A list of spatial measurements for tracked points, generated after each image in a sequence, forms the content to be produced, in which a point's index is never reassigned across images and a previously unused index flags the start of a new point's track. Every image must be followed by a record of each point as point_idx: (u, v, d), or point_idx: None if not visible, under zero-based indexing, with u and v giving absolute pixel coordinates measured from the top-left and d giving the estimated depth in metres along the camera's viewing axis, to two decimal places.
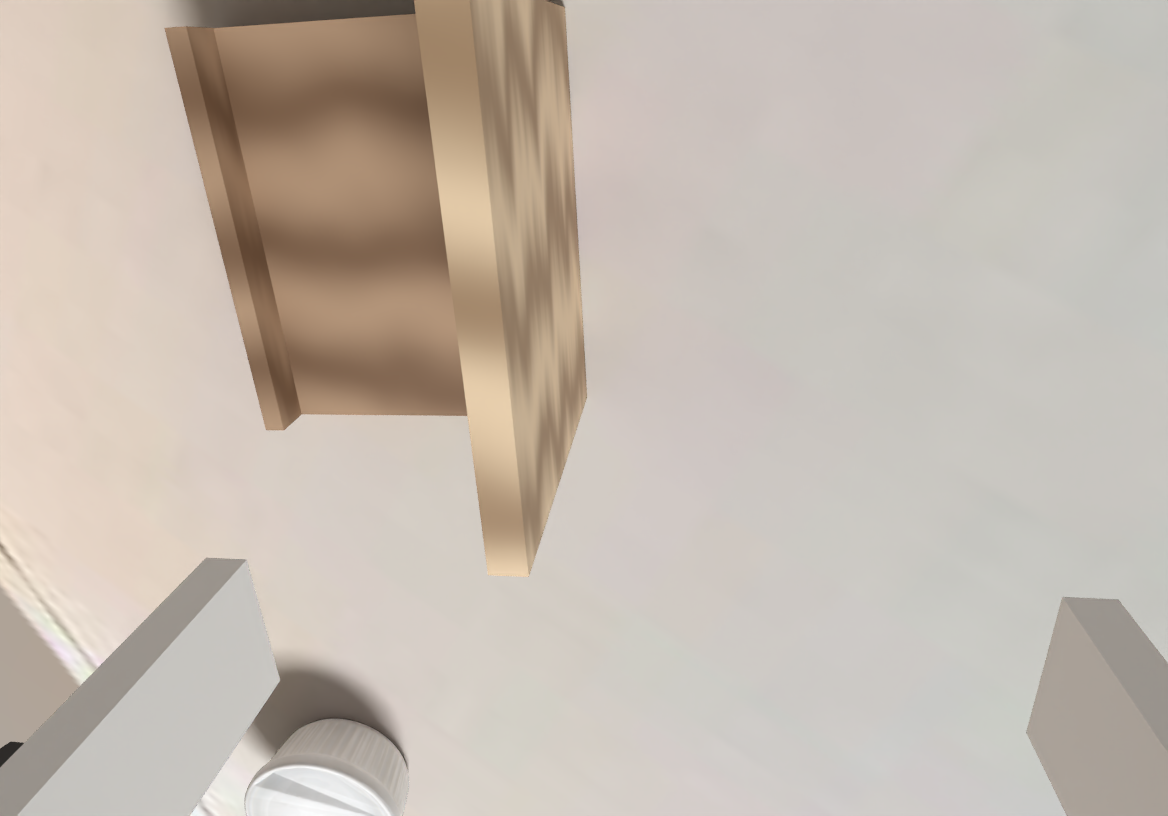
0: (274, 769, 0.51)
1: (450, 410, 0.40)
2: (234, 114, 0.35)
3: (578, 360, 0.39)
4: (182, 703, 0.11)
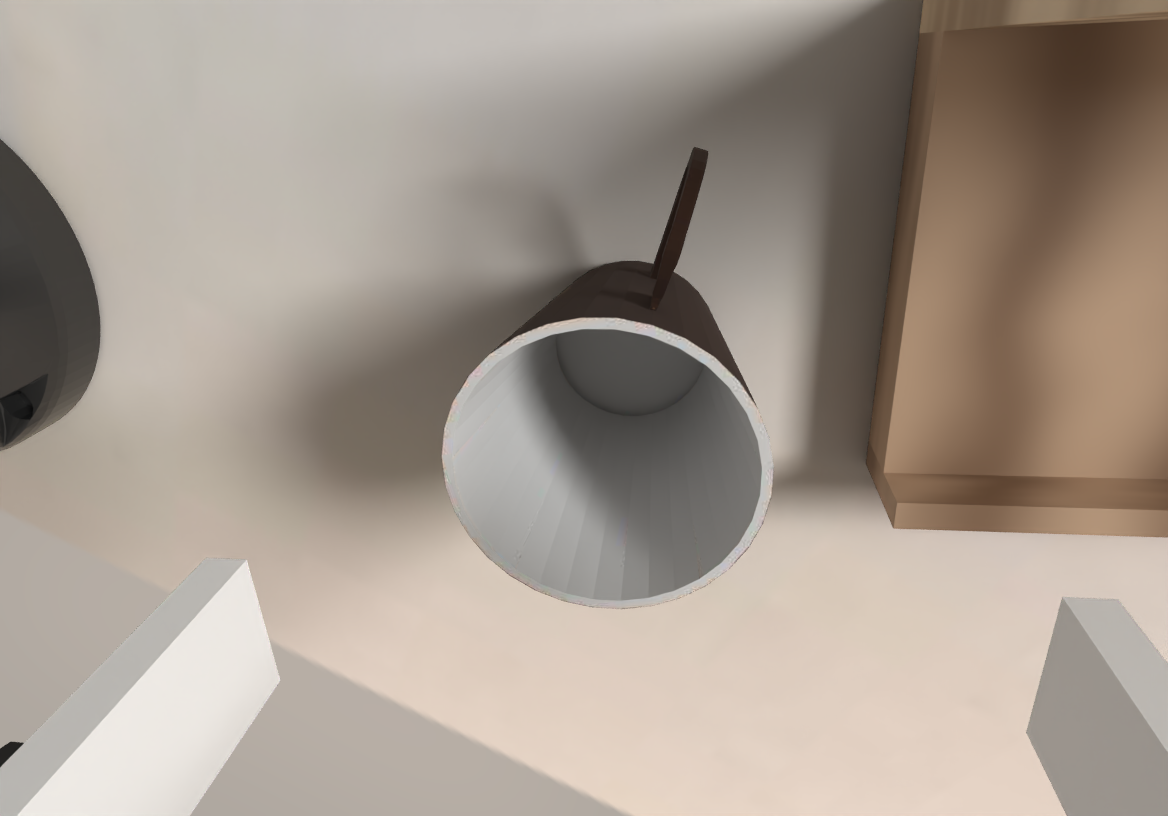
0: None
1: None
2: (992, 473, 0.26)
3: None
4: (182, 703, 0.11)
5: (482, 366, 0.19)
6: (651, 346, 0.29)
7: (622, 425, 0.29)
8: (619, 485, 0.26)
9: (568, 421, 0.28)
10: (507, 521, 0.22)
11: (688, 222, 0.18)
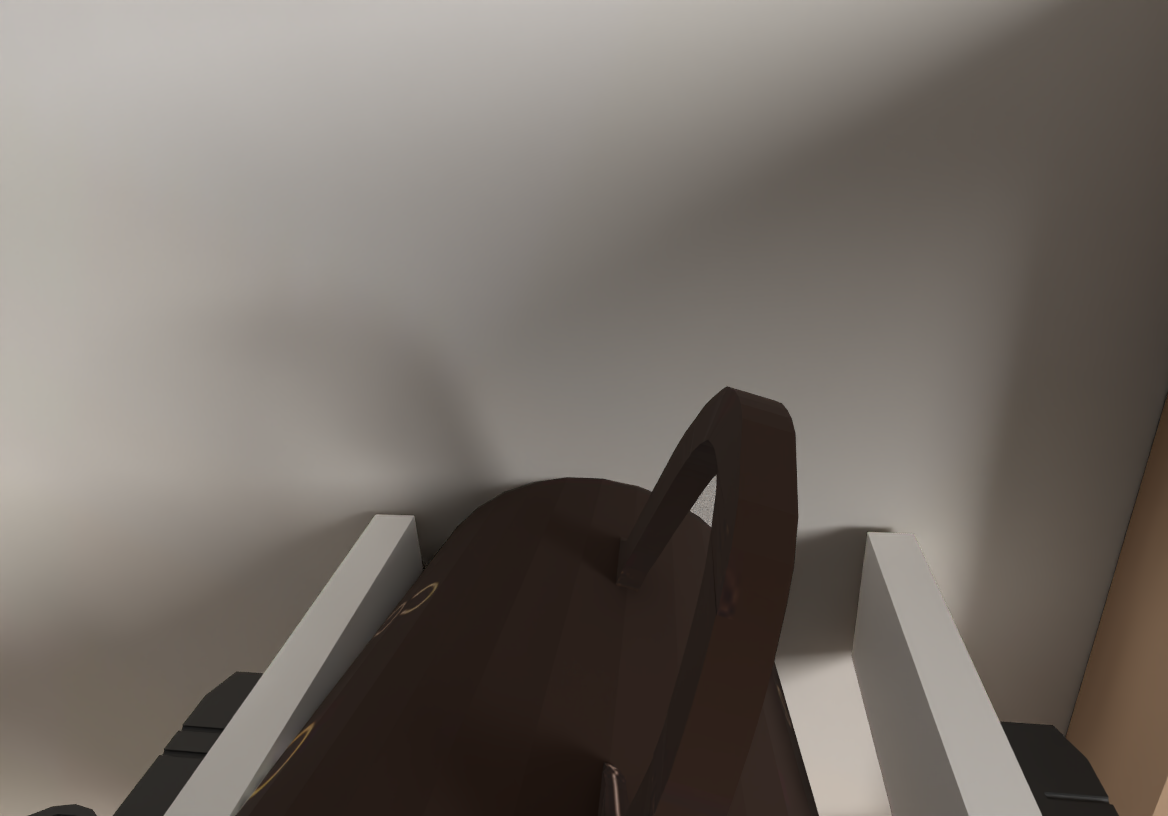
0: None
1: None
2: None
3: None
4: None
5: None
6: None
7: None
8: None
9: None
10: None
11: (723, 800, 0.04)
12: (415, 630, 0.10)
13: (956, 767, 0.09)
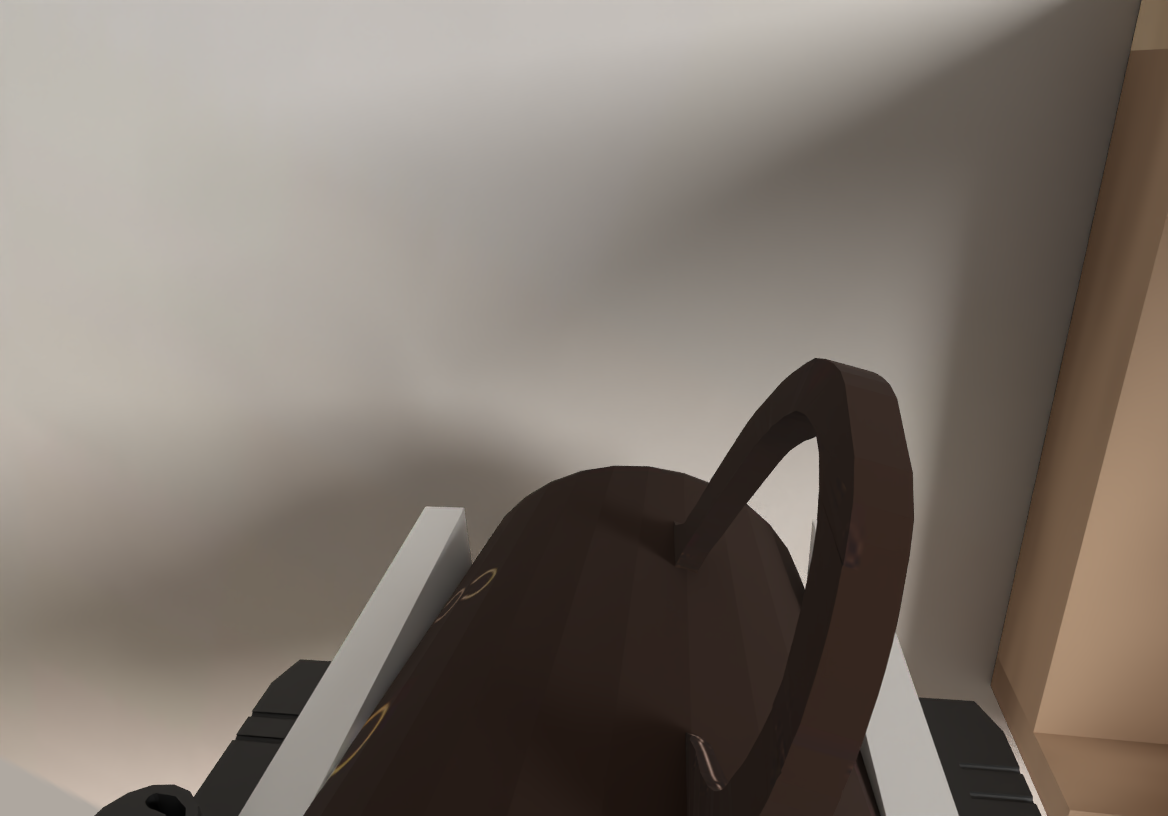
0: None
1: None
2: None
3: None
4: None
5: None
6: None
7: None
8: None
9: None
10: None
11: (852, 744, 0.04)
12: (481, 613, 0.10)
13: (871, 738, 0.09)
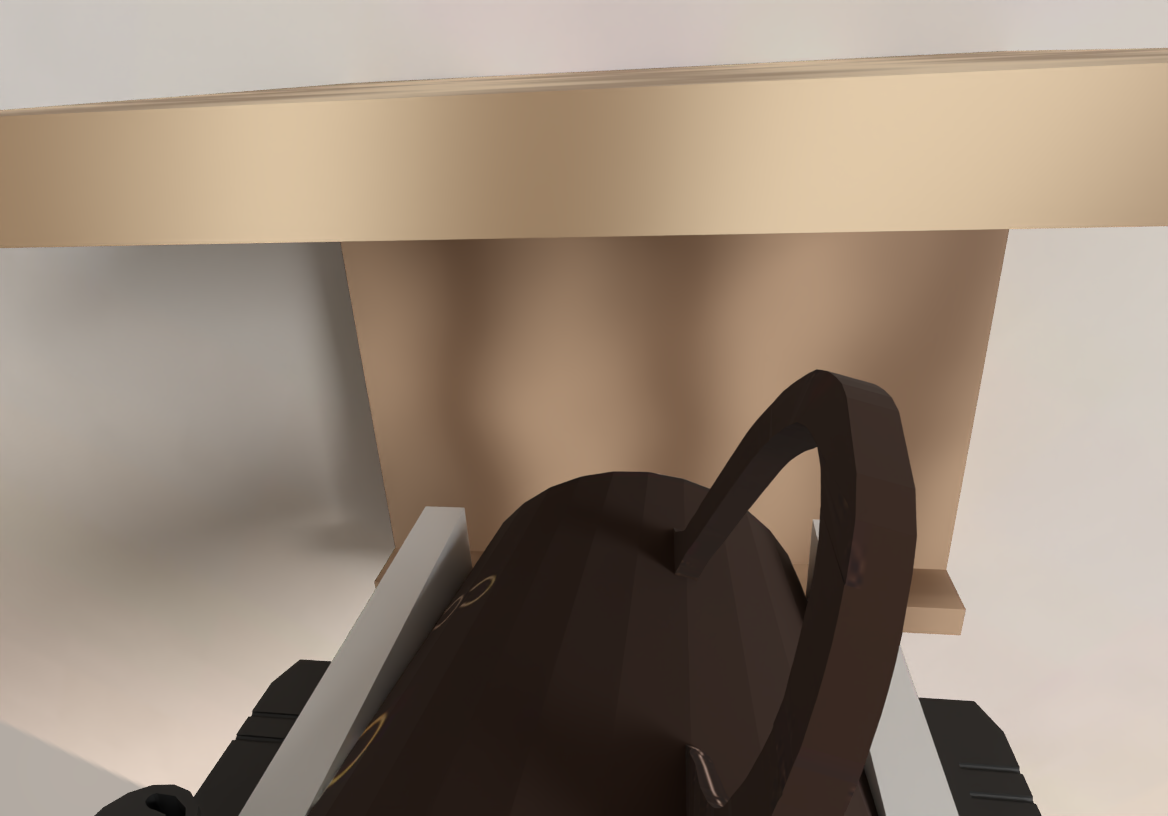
0: None
1: (979, 323, 0.21)
2: None
3: None
4: None
5: None
6: None
7: None
8: None
9: None
10: None
11: (854, 766, 0.04)
12: (479, 621, 0.10)
13: None
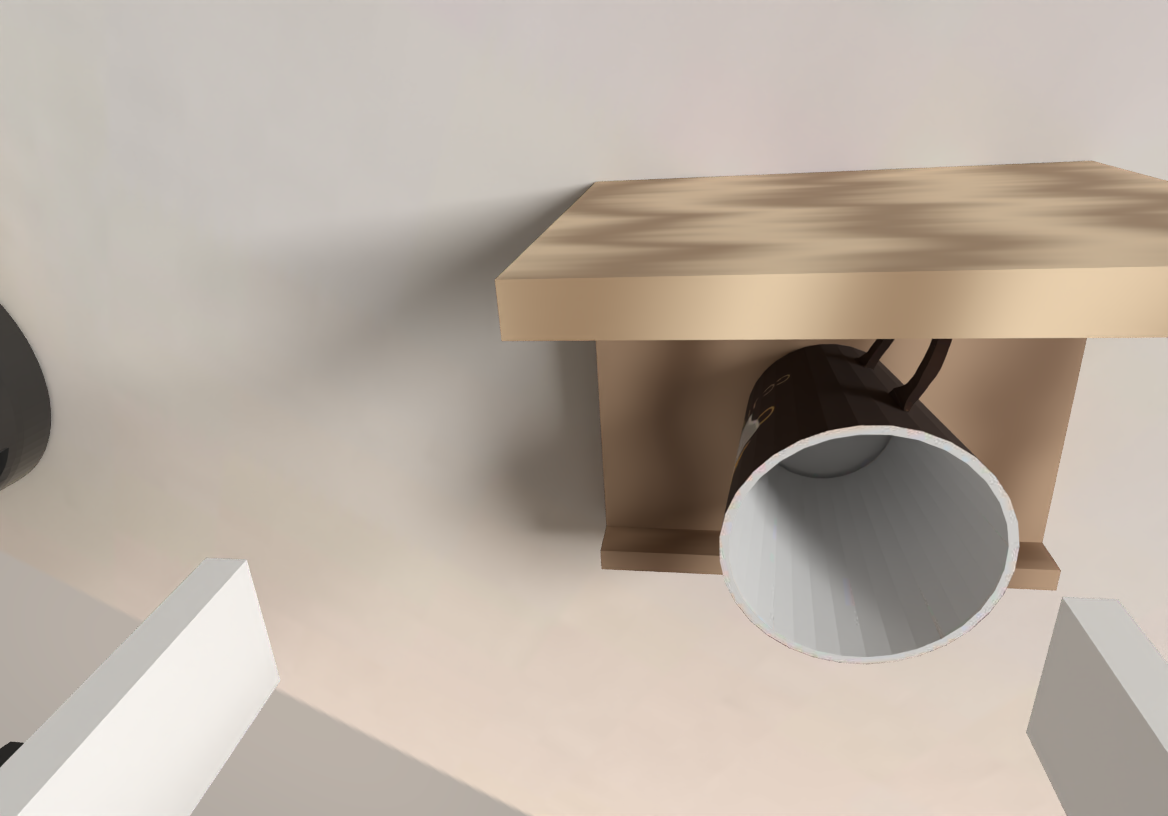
0: None
1: (1073, 357, 0.29)
2: (682, 527, 0.35)
3: (1027, 171, 0.27)
4: (182, 703, 0.11)
5: (766, 464, 0.22)
6: None
7: (815, 487, 0.32)
8: (831, 547, 0.29)
9: (772, 487, 0.31)
10: (757, 586, 0.26)
11: (949, 343, 0.21)
12: (795, 381, 0.27)
13: None
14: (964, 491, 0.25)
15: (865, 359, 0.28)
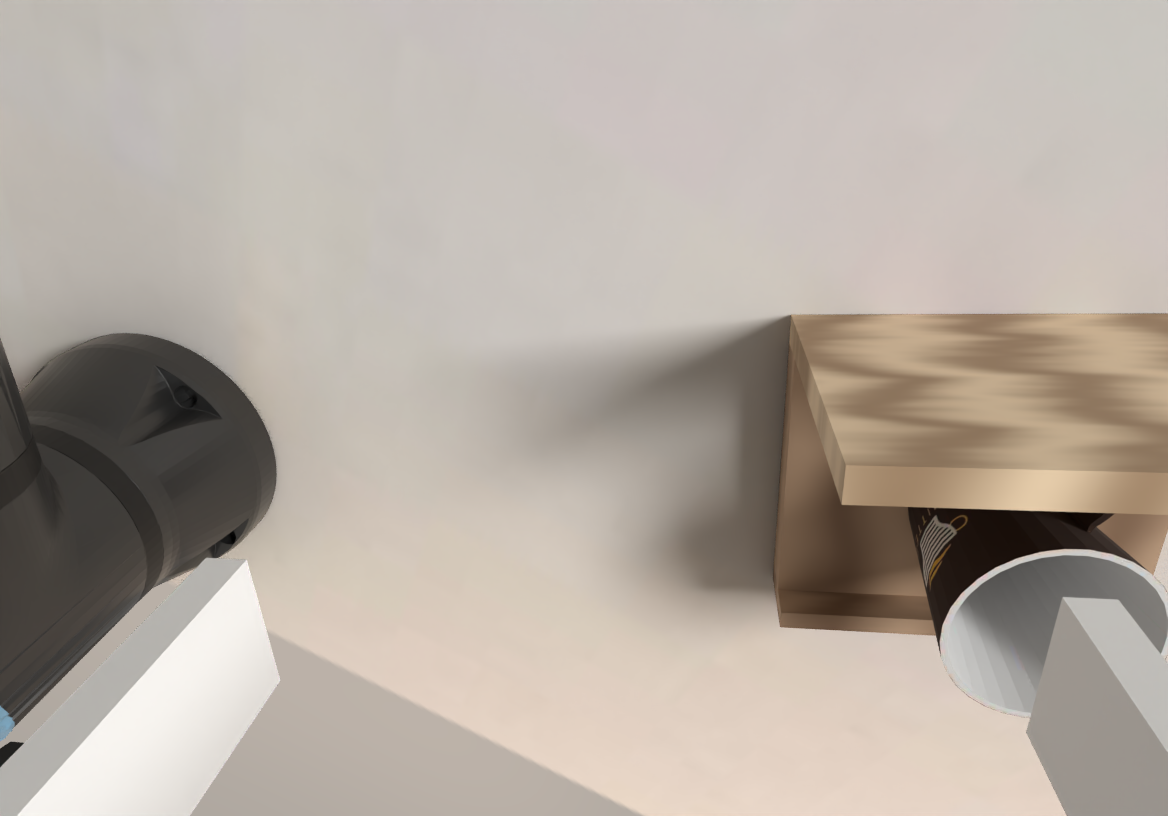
0: None
1: None
2: (843, 591, 0.43)
3: (1154, 327, 0.35)
4: (182, 703, 0.11)
5: (988, 574, 0.30)
6: None
7: None
8: (992, 618, 0.36)
9: None
10: (956, 657, 0.33)
11: None
12: None
13: None
14: (1118, 585, 0.32)
15: None
